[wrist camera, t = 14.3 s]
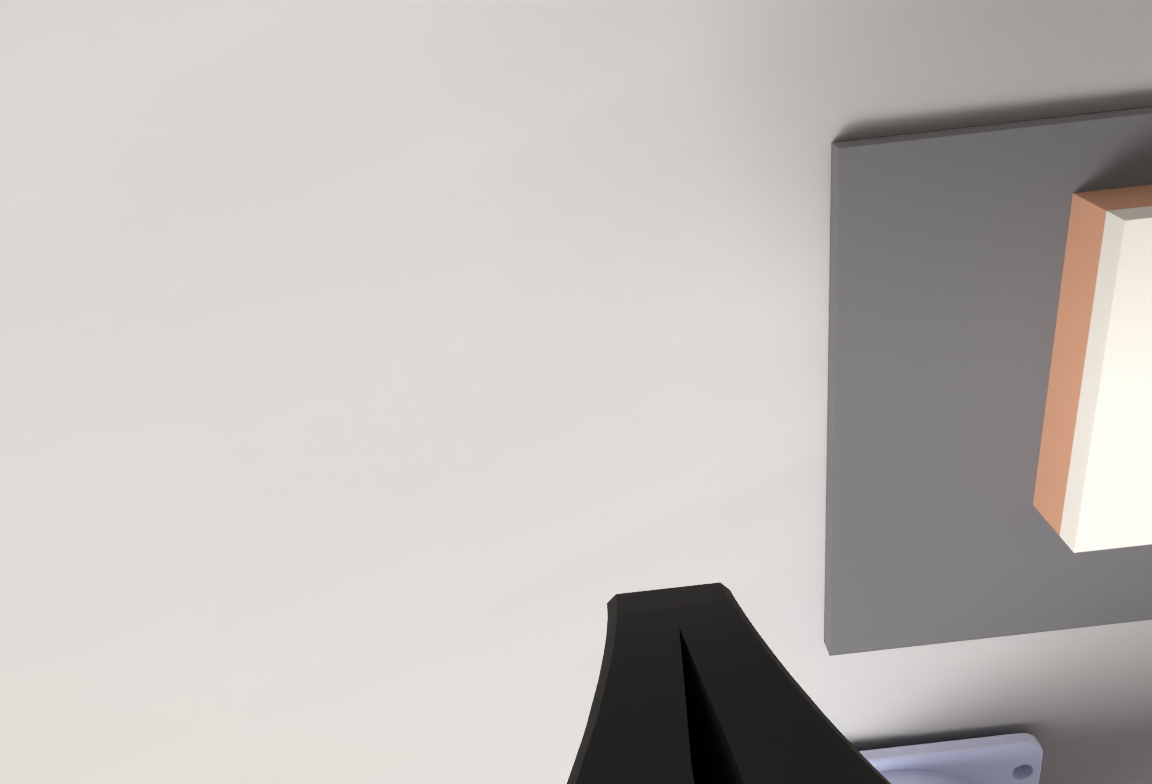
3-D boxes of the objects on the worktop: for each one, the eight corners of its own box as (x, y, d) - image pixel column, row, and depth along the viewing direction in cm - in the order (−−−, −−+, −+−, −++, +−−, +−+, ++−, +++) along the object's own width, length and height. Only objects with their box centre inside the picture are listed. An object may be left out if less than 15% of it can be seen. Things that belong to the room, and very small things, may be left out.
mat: (1318, 585, 24) (1333, 598, 23) (823, 641, 24) (830, 655, 23) (1468, 71, 19) (1491, 75, 18) (831, 142, 18) (839, 148, 18)
